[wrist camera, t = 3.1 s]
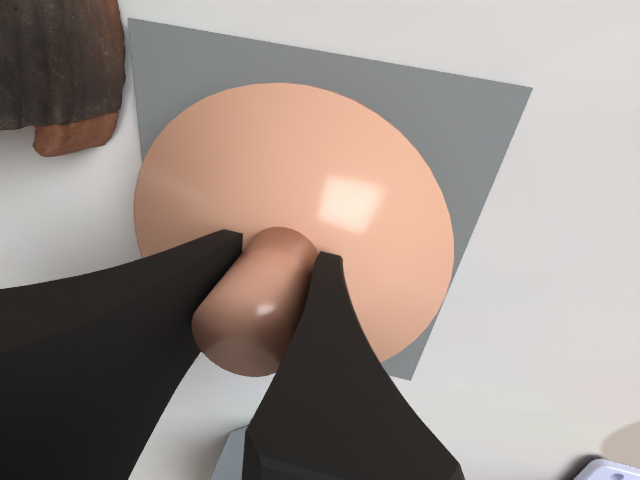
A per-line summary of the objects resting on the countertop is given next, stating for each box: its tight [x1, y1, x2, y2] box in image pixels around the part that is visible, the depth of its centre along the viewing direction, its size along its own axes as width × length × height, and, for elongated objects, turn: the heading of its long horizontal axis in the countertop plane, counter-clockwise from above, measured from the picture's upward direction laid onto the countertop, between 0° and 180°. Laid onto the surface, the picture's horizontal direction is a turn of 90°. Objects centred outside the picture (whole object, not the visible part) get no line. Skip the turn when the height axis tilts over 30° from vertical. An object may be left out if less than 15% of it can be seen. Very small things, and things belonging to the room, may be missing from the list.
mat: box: [128, 18, 533, 381], centre depth 13 cm, size 12×12×1 cm
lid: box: [134, 82, 454, 377], centre depth 10 cm, size 10×10×4 cm
